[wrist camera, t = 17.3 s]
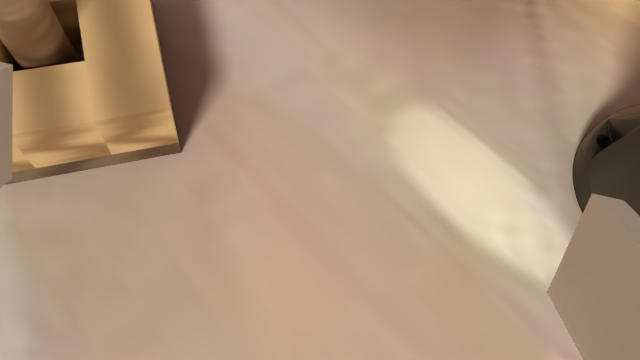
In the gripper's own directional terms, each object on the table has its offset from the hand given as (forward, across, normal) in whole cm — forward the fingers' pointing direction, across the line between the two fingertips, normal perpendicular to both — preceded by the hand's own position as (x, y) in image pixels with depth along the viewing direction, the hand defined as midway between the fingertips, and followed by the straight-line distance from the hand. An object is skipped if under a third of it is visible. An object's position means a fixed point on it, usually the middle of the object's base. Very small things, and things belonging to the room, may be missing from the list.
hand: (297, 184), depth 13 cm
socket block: (+36, -20, -12) cm, 42 cm away
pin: (+34, -20, -11) cm, 41 cm away
